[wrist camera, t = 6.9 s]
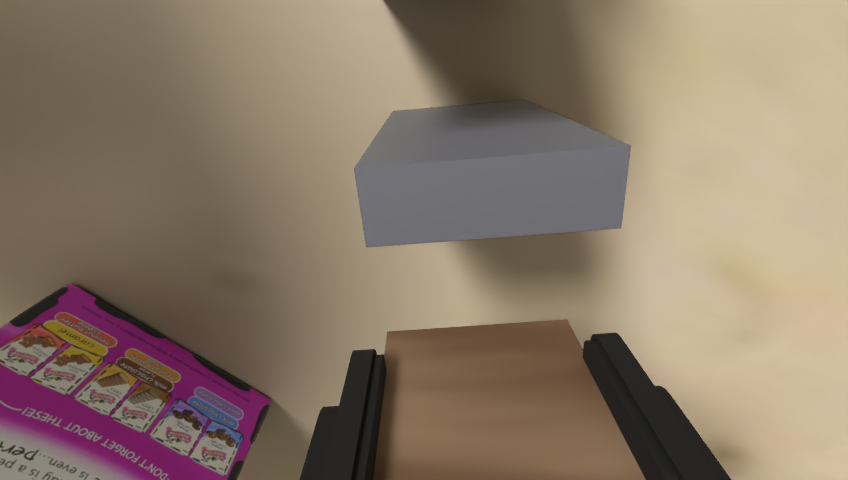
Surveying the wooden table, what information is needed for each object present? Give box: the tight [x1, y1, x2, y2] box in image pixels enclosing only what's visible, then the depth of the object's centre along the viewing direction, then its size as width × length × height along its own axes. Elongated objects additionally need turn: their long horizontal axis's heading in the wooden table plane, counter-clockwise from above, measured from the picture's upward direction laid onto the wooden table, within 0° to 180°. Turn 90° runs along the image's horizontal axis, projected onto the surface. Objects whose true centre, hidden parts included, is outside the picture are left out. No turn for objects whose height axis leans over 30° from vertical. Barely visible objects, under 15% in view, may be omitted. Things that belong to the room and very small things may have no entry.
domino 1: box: [354, 100, 631, 247], centre depth 12 cm, size 2×5×9 cm, turn 95°
